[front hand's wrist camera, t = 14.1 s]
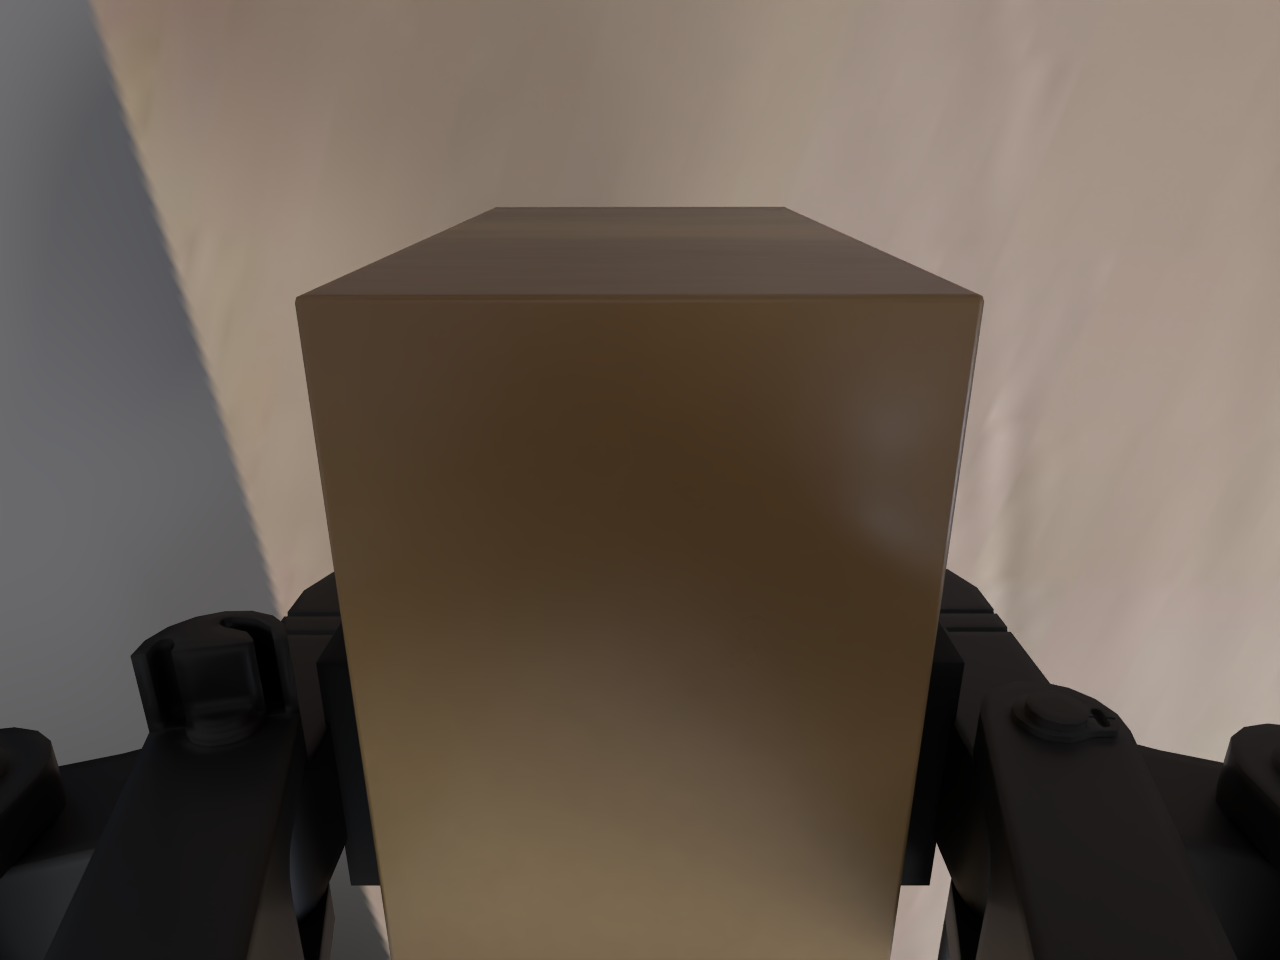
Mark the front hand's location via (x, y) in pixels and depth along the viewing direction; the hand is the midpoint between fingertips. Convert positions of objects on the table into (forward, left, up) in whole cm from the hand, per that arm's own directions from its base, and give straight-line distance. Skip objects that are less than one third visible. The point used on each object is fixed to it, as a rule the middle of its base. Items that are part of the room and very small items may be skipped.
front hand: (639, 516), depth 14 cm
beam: (+29, +6, -1) cm, 30 cm away
